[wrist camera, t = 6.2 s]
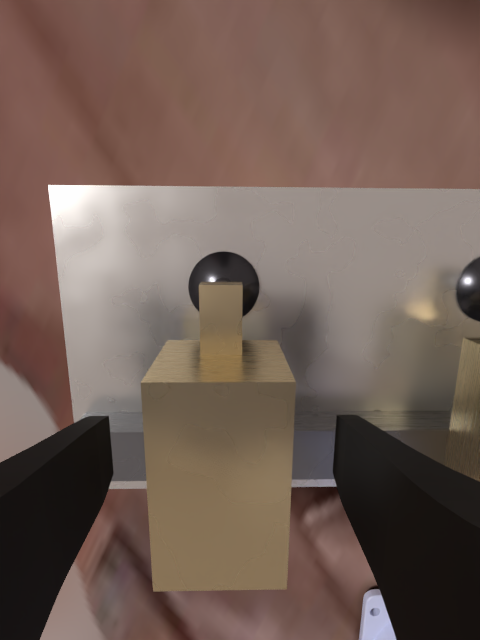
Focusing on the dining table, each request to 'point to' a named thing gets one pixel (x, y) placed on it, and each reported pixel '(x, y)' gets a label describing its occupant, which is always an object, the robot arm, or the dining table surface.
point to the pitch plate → (282, 306)
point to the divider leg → (219, 454)
